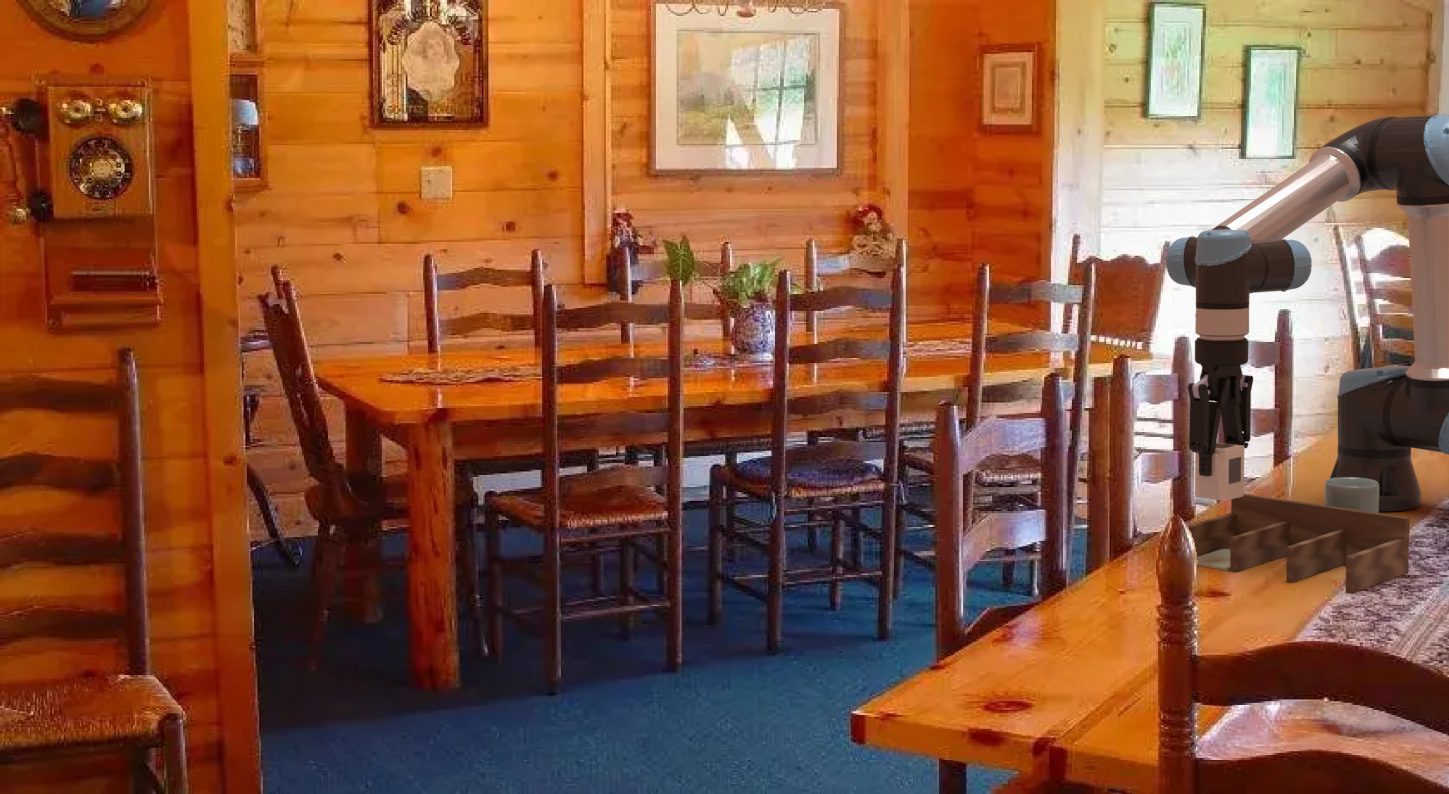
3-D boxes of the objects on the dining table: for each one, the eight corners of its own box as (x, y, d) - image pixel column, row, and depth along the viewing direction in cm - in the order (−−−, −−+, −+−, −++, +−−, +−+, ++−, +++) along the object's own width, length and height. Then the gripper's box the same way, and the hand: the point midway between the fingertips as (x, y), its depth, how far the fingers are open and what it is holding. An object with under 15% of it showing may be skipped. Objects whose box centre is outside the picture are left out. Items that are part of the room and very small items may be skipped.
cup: (1381, 553, 262) (1383, 487, 260) (1327, 552, 263) (1328, 486, 262) (1373, 541, 269) (1375, 477, 268) (1320, 540, 271) (1321, 476, 269)
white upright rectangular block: (1213, 491, 261) (1214, 441, 260) (1244, 496, 257) (1245, 445, 256) (1194, 496, 258) (1195, 445, 257) (1225, 501, 254) (1225, 449, 253)
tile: (1223, 551, 266) (1223, 548, 266) (1264, 558, 260) (1264, 555, 260) (1185, 563, 259) (1185, 560, 259) (1227, 570, 254) (1227, 568, 254)
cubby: (1235, 543, 270) (1235, 492, 269) (1408, 572, 250) (1409, 517, 249) (1176, 561, 260) (1177, 508, 259) (1352, 593, 239) (1353, 536, 238)
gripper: (1233, 329, 263) (1231, 482, 266) (1163, 340, 251) (1161, 500, 254) (1278, 332, 257) (1275, 488, 260) (1209, 344, 245) (1206, 507, 249)
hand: (1219, 494), depth 257 cm, fingers closed on white upright rectangular block, 5 cm apart
